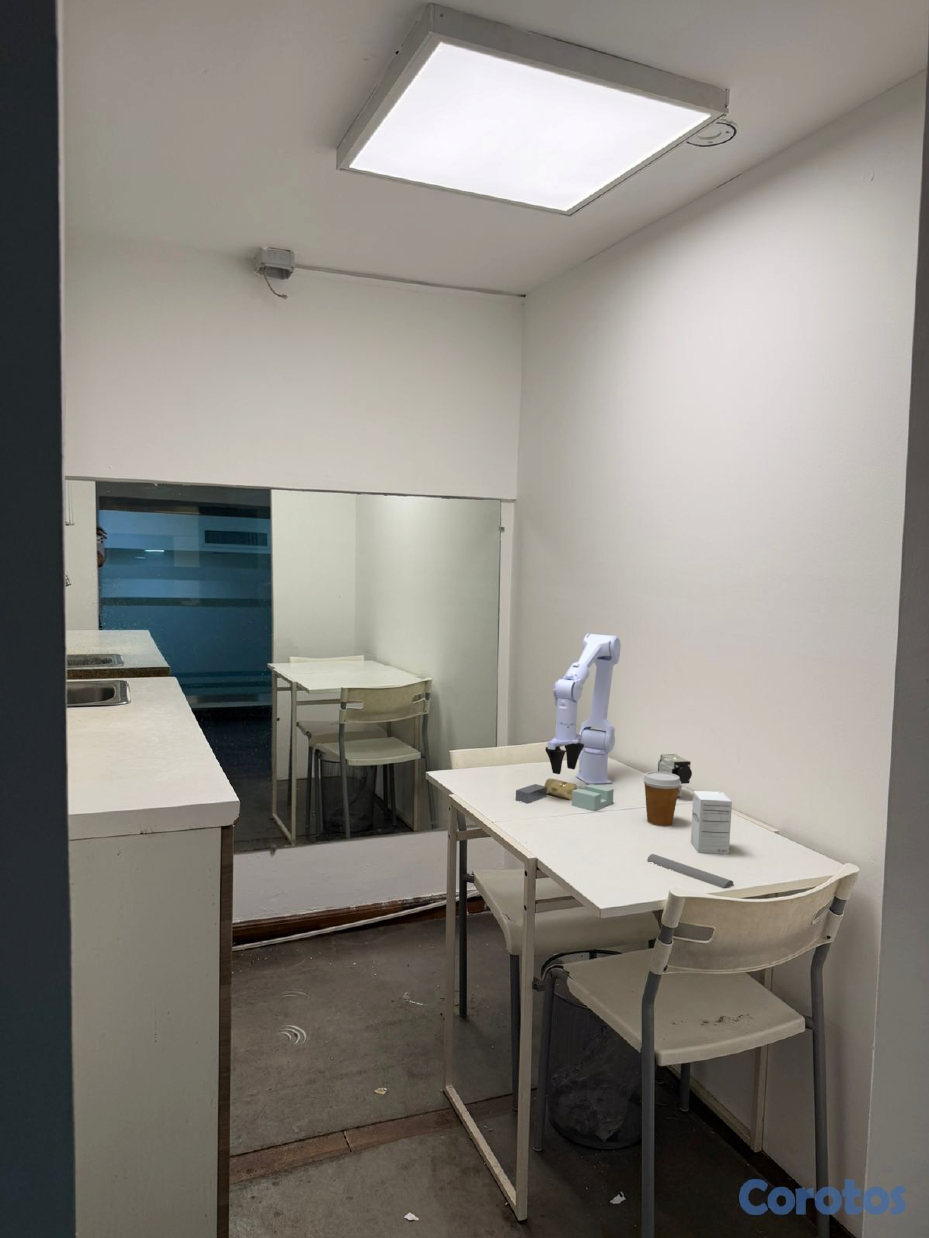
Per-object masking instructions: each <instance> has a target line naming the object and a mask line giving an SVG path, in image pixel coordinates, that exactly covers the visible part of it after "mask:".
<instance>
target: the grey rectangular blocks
mask: <svg viewBox="0 0 929 1238" xmlns="http://www.w3.org/2000/svg"><path fill="white" fill-rule="evenodd" d="M554 779H555V780H557V778H554ZM547 796H548V794H547V787H546V786H544V785H542V784H538V783H534V784H531V785H526V786H525V787H522V788H519V789H516V790H515V801H516V802H517V801H518V802H520V801H522V802H521V803H524V802H525V803H524V804H529V802H530V803H532V801H533V802H536V801H539V800H541V799H543V798H546V797H547Z"/></svg>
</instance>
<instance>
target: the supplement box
mask: <svg viewBox="0 0 929 1238" xmlns="http://www.w3.org/2000/svg"><path fill="white" fill-rule="evenodd" d="M692 795H693V796H692V810H691V811H692V812H691V829H690V843H691V844H692V845H693V846H694V848H695V849H696V851H697V852H698V853H702V854H719V855H721V854H723V855H728V854H730V839H731V828H732V827H731V823H732V808H733V807H732V805H733V801H732V800H731V799H730V798H729V797H728V795H727V794H726V793H724V792H723V791H710V790H707V791H705V790H704V791H703V790H702V791H701V790H693V793H692Z"/></svg>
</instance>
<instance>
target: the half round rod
mask: <svg viewBox="0 0 929 1238" xmlns="http://www.w3.org/2000/svg"><path fill="white" fill-rule="evenodd" d="M646 861H648V862H647V863H649V862H653V863H654V864H653V865H655V864H657V865H656V866H658V867H661V866H662V867H661V868H664V869H668V870H669V869H671V870H670V871H672V870H673V871H672V872H674V873H675V872H676V873H679V874H680V875H681V874H682V875H684V876H687V877H689V878H691V879H692V878H693V879H695V880H698V881H701V882H704V883H707V884H709V885H711V886H714V887H715V886H716V887H718V888H722V889H725V888H727V887H729V886H732V885H734V880H732V879H728V878H726V877H722V876H719V875H716V874H714V873H710V872H708V871H704V870H702V869H700V868H699V869H698V868H695V867H693V866H690V865H687V864H683V863H681V862H678V861H675V860H673V859H669V858H666V857H663V856H661V855H658V854H654V853H651V854H649V855H648V857H647V860H646Z"/></svg>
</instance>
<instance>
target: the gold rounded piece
mask: <svg viewBox="0 0 929 1238" xmlns="http://www.w3.org/2000/svg"><path fill="white" fill-rule="evenodd" d="M555 779H556V778H547V779H546V781H545V783H544V785H543V786H546V787H547V795H550V796H553V797H559V798H561V799H562V798H563V799H568V800H569V801H572V791H573V790H576V789H578V787H577V785H576V784H575V783H572V782H568V781H564V780H560V779H556V780H555Z"/></svg>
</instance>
